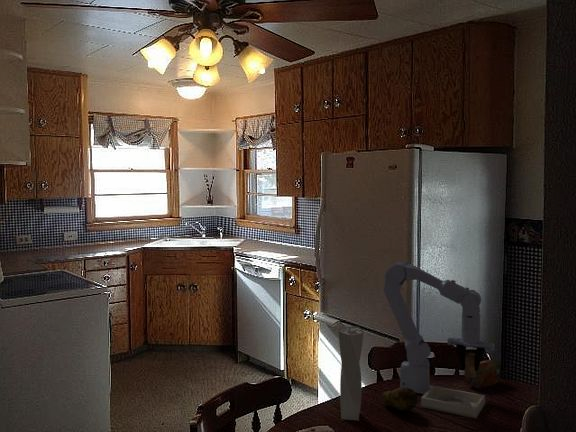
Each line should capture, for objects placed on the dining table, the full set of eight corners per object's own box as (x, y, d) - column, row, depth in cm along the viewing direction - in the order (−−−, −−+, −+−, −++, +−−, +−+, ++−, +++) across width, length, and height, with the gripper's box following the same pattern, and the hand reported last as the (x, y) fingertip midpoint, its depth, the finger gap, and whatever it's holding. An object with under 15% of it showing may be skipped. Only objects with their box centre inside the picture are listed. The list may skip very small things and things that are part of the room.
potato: (402, 401, 172) (403, 377, 171) (421, 417, 159) (422, 391, 159) (378, 404, 170) (379, 379, 169) (396, 420, 157) (396, 393, 157)
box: (421, 407, 167) (421, 397, 167) (433, 394, 178) (433, 385, 178) (475, 418, 158) (476, 408, 158) (484, 404, 169) (485, 395, 169)
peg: (463, 376, 175) (463, 355, 174) (465, 373, 178) (466, 352, 177) (474, 378, 173) (474, 357, 172) (477, 375, 176) (477, 354, 176)
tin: (471, 390, 182) (471, 365, 182) (464, 387, 185) (464, 363, 184) (502, 383, 189) (502, 359, 189) (494, 380, 192) (495, 357, 191)
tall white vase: (362, 423, 156) (363, 327, 155) (337, 421, 157) (337, 326, 156) (363, 412, 163) (364, 321, 162) (339, 410, 165) (339, 320, 164)
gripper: (445, 327, 175) (444, 368, 175) (491, 333, 167) (491, 376, 168) (450, 323, 181) (450, 363, 181) (495, 328, 173) (495, 370, 174)
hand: (470, 369), depth 175 cm, fingers closed on peg, 4 cm apart
